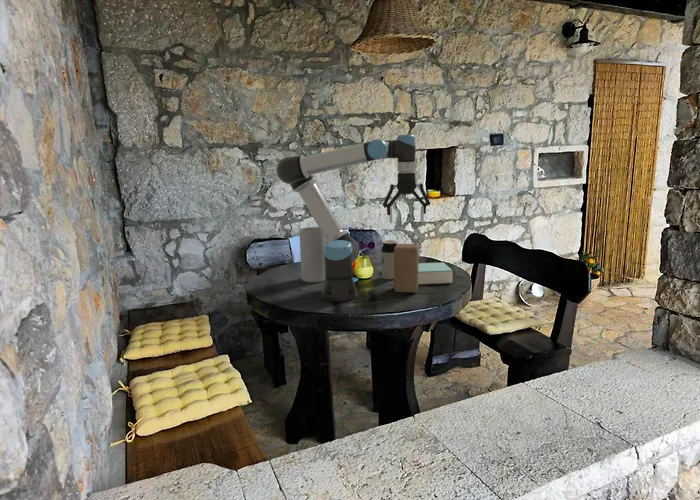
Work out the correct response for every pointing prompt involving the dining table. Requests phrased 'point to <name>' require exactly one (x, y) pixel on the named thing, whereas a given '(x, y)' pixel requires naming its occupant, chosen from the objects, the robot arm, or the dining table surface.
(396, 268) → the wooden block
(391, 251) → the travel mug
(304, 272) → the cylinder vase
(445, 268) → the base brick
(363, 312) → the dining table surface
